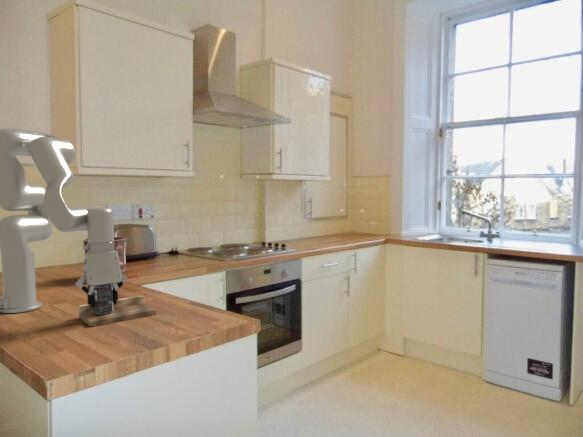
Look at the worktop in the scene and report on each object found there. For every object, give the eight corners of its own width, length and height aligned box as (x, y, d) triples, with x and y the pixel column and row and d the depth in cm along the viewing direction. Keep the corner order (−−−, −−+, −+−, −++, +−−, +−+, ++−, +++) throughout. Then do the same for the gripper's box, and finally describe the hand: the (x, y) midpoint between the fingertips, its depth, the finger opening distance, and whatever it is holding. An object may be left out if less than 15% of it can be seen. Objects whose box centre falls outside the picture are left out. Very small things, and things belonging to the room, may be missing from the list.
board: (90, 327, 132) (90, 313, 132) (79, 318, 141) (78, 305, 141) (156, 314, 145) (155, 302, 144) (141, 307, 154) (141, 295, 154)
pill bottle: (116, 309, 144) (115, 274, 143) (109, 315, 138) (108, 278, 137) (97, 309, 144) (96, 274, 143) (89, 315, 138) (88, 278, 137)
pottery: (118, 282, 194) (117, 241, 193) (77, 282, 194) (76, 241, 193) (132, 275, 211) (132, 236, 210) (95, 275, 211) (94, 236, 210)
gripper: (74, 251, 131) (76, 312, 132) (133, 246, 142) (134, 302, 143) (68, 248, 137) (70, 307, 138) (125, 244, 148) (126, 298, 149)
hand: (103, 304), depth 141 cm, fingers closed on pill bottle, 5 cm apart
